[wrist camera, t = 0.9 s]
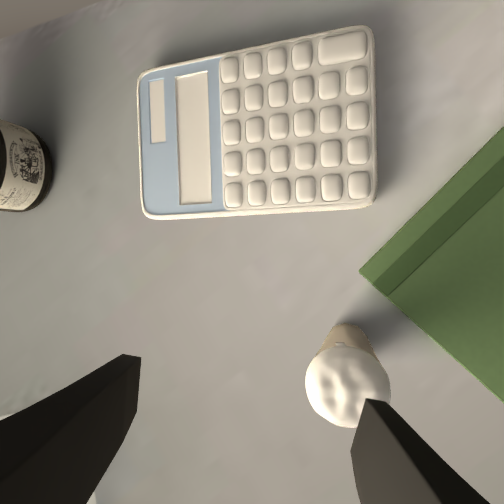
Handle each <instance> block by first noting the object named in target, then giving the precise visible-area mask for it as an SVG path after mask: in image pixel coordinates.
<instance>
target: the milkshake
mask: <svg viewBox="0 0 504 504" xmlns="http://www.w3.org/2000/svg"><path fill="white" fill-rule="evenodd" d="M306 392H307V396H308V399H309V401H310V403H311V405H312V407H313V408H314V410H315V411H316V412H317V413H318V414H320V415H321V416H322V417H324V418H325V419H327V420H328V421H330V422H331V423H333V424H335V425H337V426H341V427H349V428H357V427H358V423H359V420H360V416H361V413H362V409H363V406H364V402H365V399H366V398H369V399H375V400H380V401H385V402H386V403H388V404H389V403H390V398H391V389H390V382H389V378H388V375H387V373H386V371H385V370H384V368H383V367H382V365H381V363H380V361H379V360H378V358H377V356H376V354H375V352H374V350H373V348H372V345H371V343H370V341H369V339H368V337H367V336H366V335H365V334H364V333H363V331H362V330H361V329H360V328H359V327H358V326H355V325H351V324H348V323H343V324H340V325H337V326H334V327H332V329H331V331H330V332H329V334H328V335H327V337H326V339H325V340H324V342H323V344H322V346H321V348H320V350H319V351H318V352H317V354H316V355H315V357H314V359H313V360H312V362H311V363H310V365H309V367H308V369H307V373H306Z"/></svg>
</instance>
